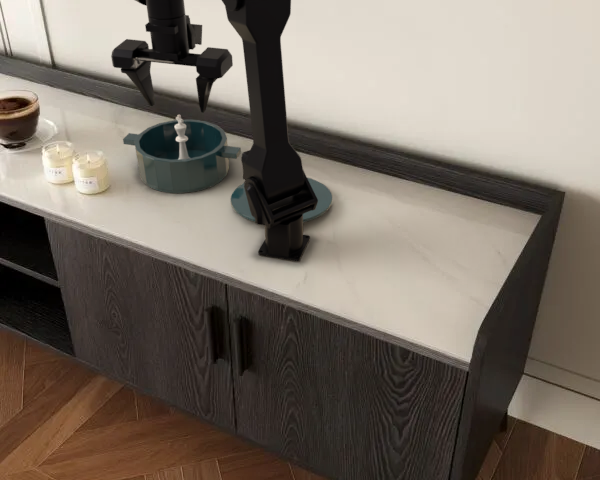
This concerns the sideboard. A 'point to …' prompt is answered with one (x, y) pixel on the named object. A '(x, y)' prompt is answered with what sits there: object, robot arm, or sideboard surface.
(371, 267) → the sideboard surface
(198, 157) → the pot
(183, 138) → the chess piece
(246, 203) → the lid
